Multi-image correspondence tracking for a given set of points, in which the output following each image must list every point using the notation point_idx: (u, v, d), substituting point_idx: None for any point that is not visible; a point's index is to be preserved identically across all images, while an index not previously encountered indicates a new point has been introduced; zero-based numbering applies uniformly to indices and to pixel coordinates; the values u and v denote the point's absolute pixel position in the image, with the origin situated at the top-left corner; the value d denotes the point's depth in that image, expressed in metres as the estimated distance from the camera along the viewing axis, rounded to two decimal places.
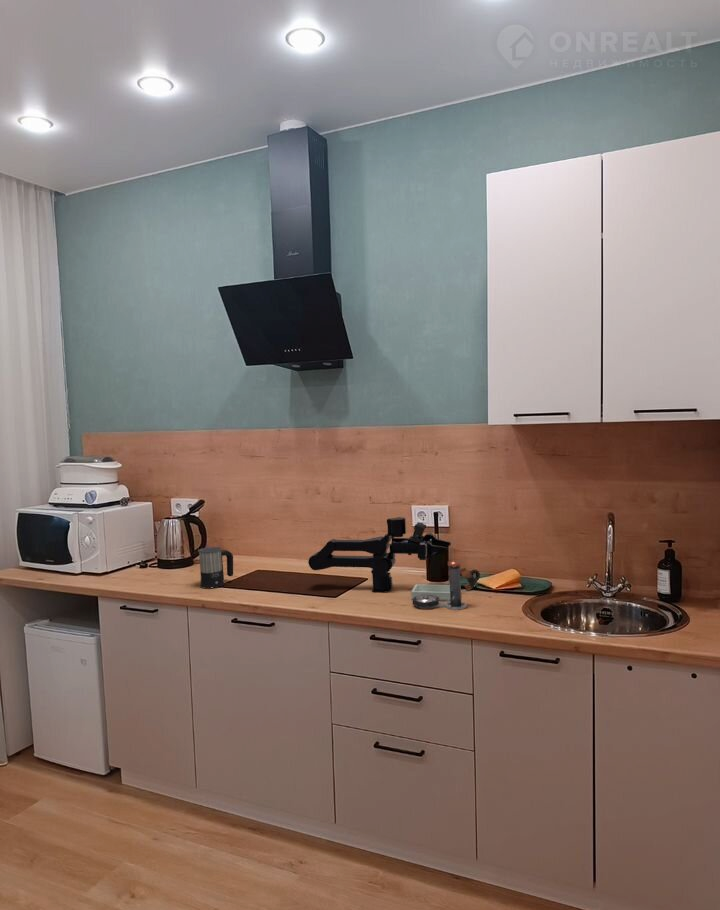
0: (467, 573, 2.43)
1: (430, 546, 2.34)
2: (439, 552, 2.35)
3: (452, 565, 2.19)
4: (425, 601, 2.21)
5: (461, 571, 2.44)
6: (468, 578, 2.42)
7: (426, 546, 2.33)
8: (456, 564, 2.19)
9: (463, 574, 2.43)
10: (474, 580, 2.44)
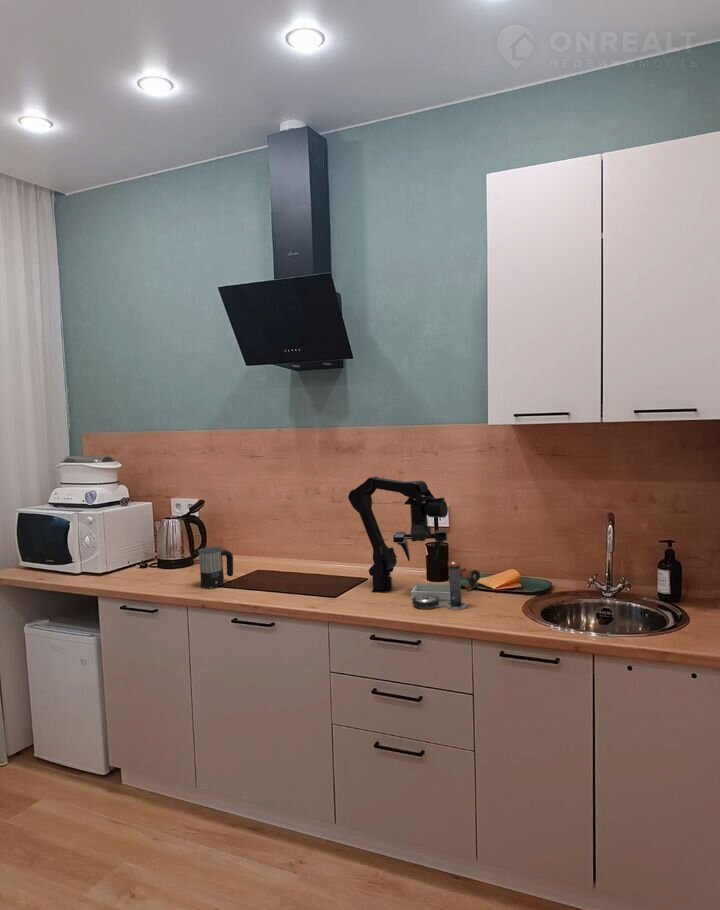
0: (467, 573, 2.43)
1: None
2: None
3: (452, 565, 2.19)
4: (425, 601, 2.21)
5: (461, 571, 2.43)
6: (468, 578, 2.41)
7: None
8: (456, 564, 2.19)
9: (463, 574, 2.42)
10: (474, 580, 2.44)
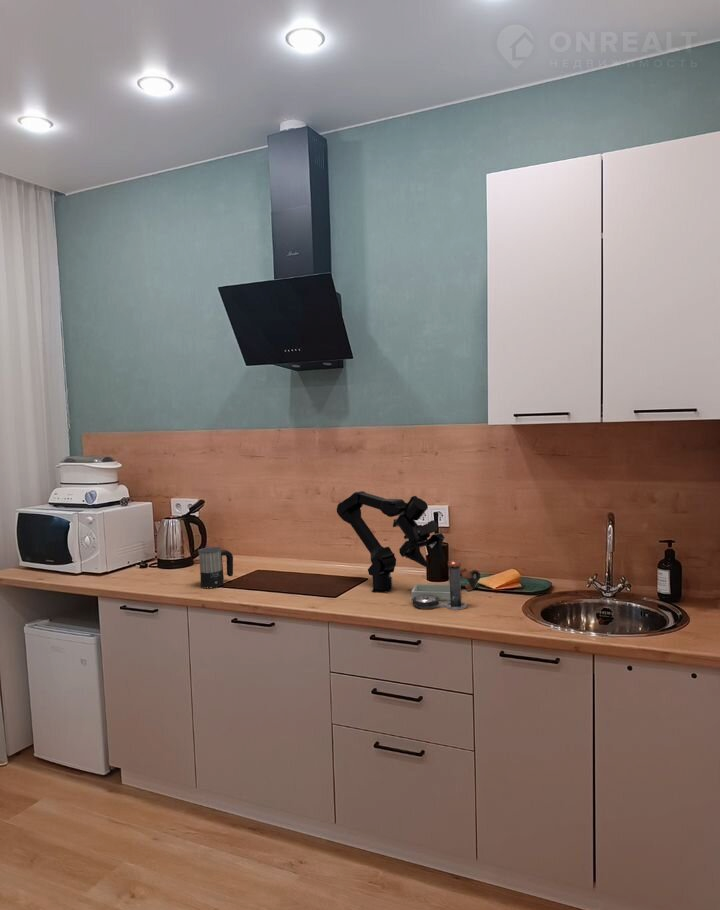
0: (467, 574, 2.42)
1: (415, 551, 2.24)
2: (419, 562, 2.25)
3: (452, 565, 2.19)
4: (425, 601, 2.21)
5: (461, 572, 2.43)
6: (468, 579, 2.41)
7: (411, 548, 2.24)
8: (456, 564, 2.19)
9: (463, 575, 2.42)
10: (474, 581, 2.44)
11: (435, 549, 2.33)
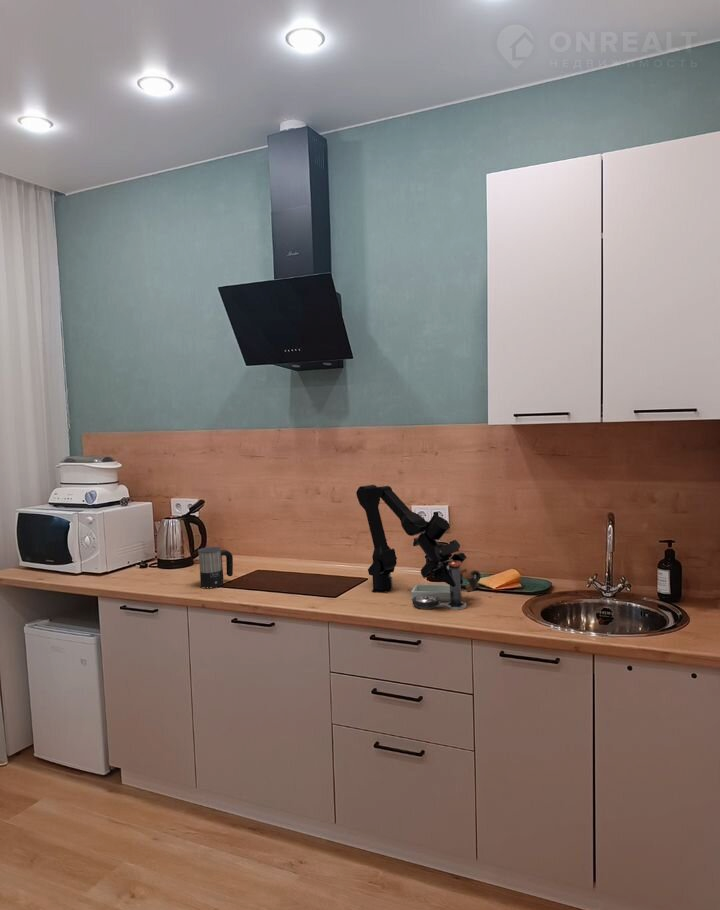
0: (468, 574, 2.42)
1: (443, 570, 2.20)
2: (446, 581, 2.21)
3: (452, 565, 2.19)
4: (425, 601, 2.21)
5: (462, 572, 2.42)
6: (469, 579, 2.40)
7: (438, 568, 2.19)
8: (456, 564, 2.19)
9: (464, 575, 2.41)
10: (475, 581, 2.43)
11: None
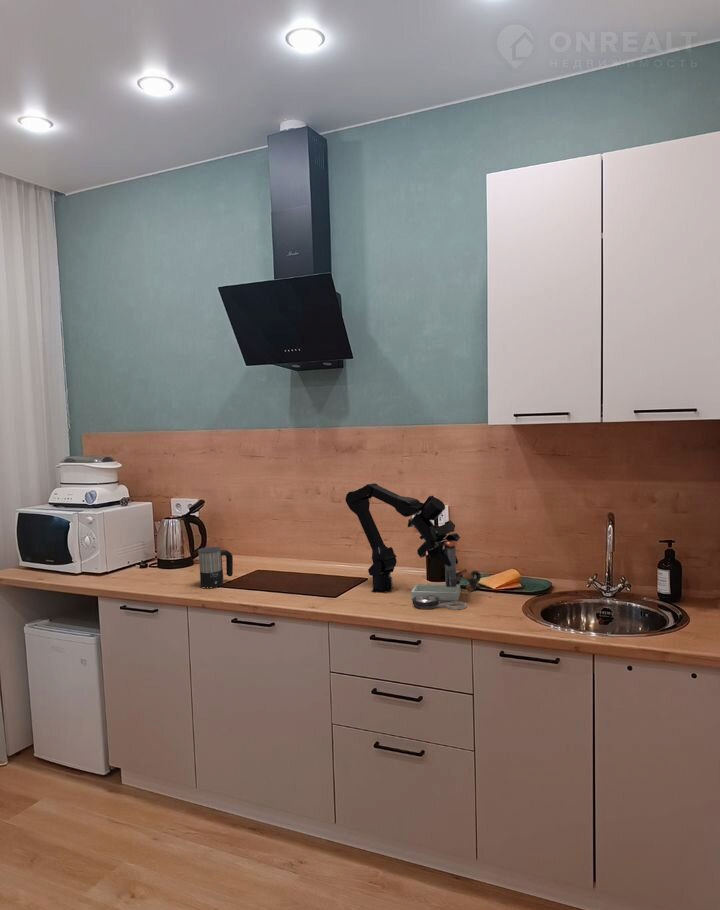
0: (468, 574, 2.41)
1: (439, 550, 2.23)
2: (442, 561, 2.24)
3: (448, 545, 2.23)
4: (425, 601, 2.21)
5: (462, 572, 2.42)
6: (469, 579, 2.40)
7: (435, 548, 2.23)
8: (452, 544, 2.23)
9: (464, 575, 2.41)
10: (475, 581, 2.43)
11: None
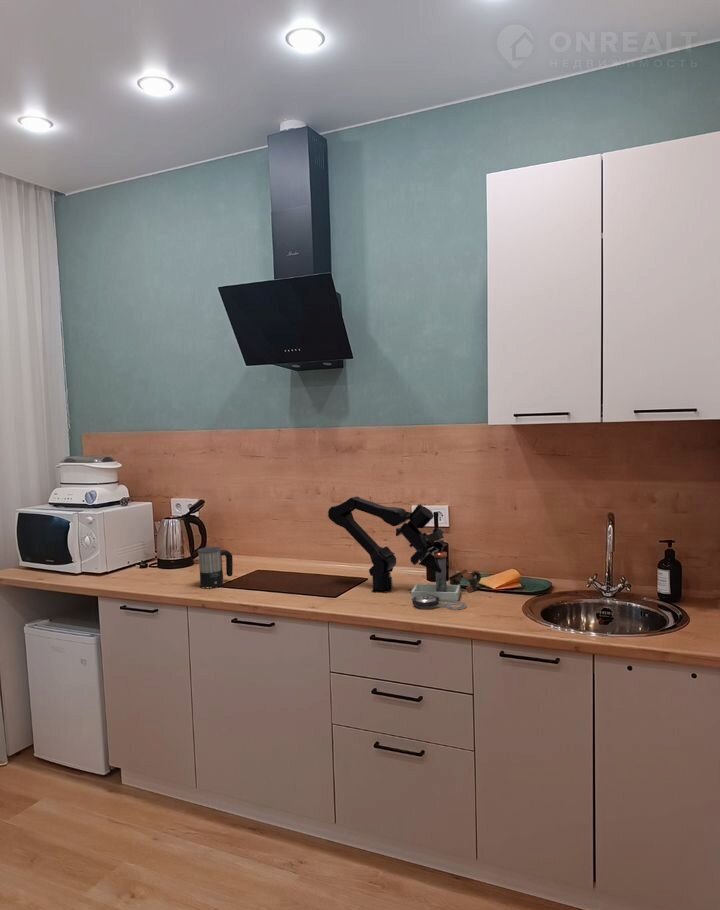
0: (468, 575, 2.41)
1: (429, 558, 2.30)
2: (432, 568, 2.31)
3: (440, 556, 2.31)
4: (425, 601, 2.21)
5: (462, 573, 2.41)
6: (470, 580, 2.40)
7: (426, 555, 2.29)
8: (443, 555, 2.31)
9: (464, 576, 2.40)
10: (475, 582, 2.42)
11: None
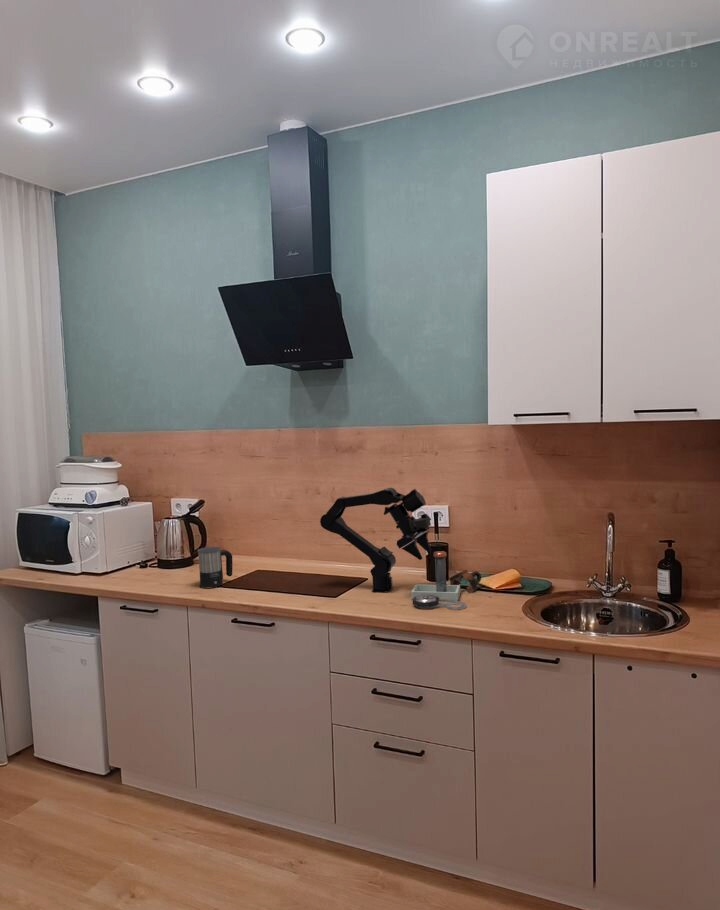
0: (469, 575, 2.40)
1: (413, 545, 2.34)
2: (413, 554, 2.36)
3: (439, 555, 2.31)
4: (425, 601, 2.21)
5: (463, 573, 2.40)
6: (470, 580, 2.39)
7: (410, 542, 2.33)
8: (443, 554, 2.31)
9: (465, 576, 2.39)
10: (476, 582, 2.42)
11: (421, 539, 2.45)
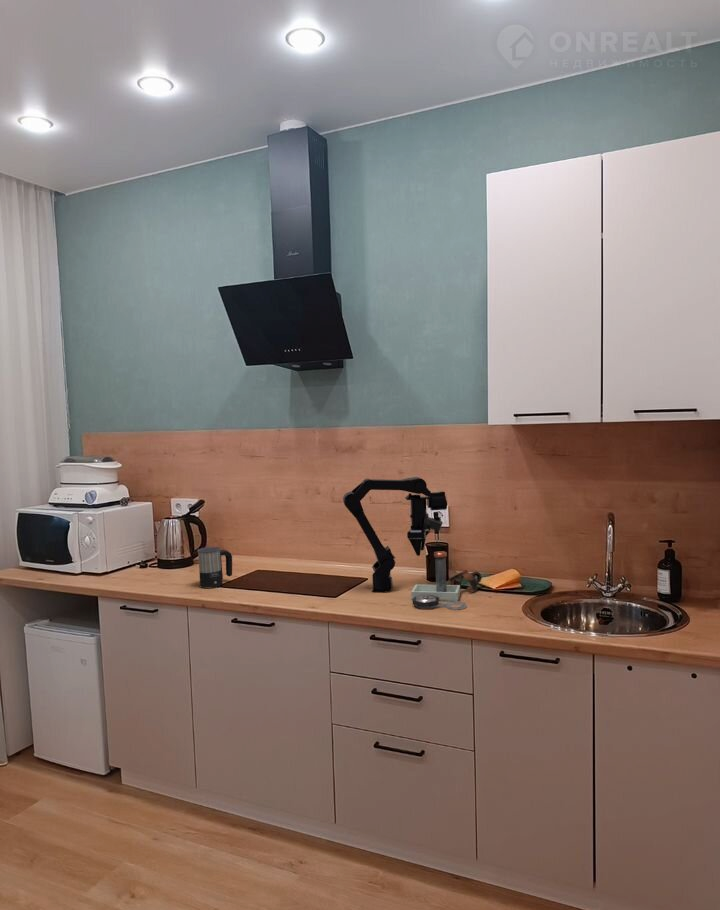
0: (469, 575, 2.40)
1: (420, 541, 2.40)
2: (415, 548, 2.42)
3: (439, 556, 2.31)
4: (425, 601, 2.21)
5: (463, 573, 2.40)
6: (470, 580, 2.38)
7: (420, 538, 2.39)
8: (443, 554, 2.31)
9: (465, 576, 2.39)
10: (476, 582, 2.41)
11: None
